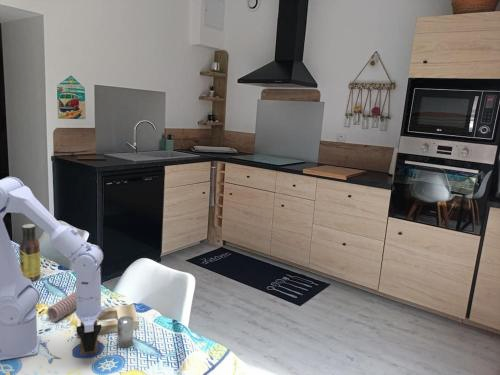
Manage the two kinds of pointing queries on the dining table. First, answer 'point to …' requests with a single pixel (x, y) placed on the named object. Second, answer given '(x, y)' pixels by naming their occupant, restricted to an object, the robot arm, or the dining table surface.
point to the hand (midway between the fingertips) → (89, 341)
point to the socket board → (114, 313)
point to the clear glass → (125, 332)
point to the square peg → (95, 344)
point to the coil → (62, 307)
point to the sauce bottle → (29, 253)
